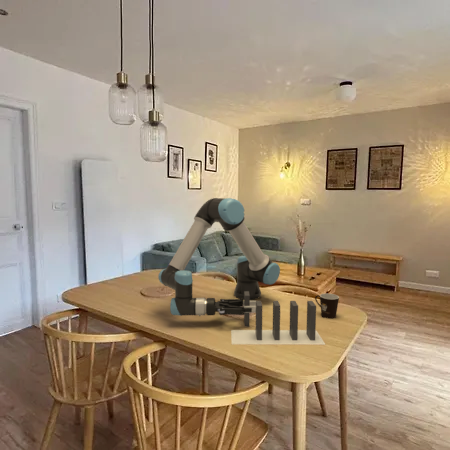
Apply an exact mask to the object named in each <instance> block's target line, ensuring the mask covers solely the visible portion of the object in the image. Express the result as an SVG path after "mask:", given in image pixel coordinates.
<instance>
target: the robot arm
mask: <svg viewBox="0 0 450 450" xmlns="http://www.w3.org/2000/svg"><path fill="white" fill-rule="evenodd" d="M193 221H194V222H192V225H191V226H190V228H189V230H188V232H187V233H186V235H185V236H184V238H183V240H182V242H181V244H179V247H178V248H177V250H176V252H175V254H174V255H173V257H172V258H171V260H170V262H169V264H168V266H167V267H166V268H163V269H161V271H159V273H158V276H157V277H158V280H159V283H161V284H162V285H163V286H165V287H168V288H171V289H172V290H174V295H175V296H174V297H172V298H171V300H170V303H169V304H170V314H171V315H172V316H198V317H201V316H215V314H216V313H219V315H220V316H224V315H225V316H226V315H233V316H234V315H235V316H238V315H239V316H244V313H252V314H254V313H255V314H256V301H257V299H260V298H261V296H262V292H261V288H260V285H259V282H260V283H262V284H264V285H273V284H276V282H277V281H278V279H279V277H280V273H281V268H280V266H279V264H278V263H276V262H272V259H271V258H270V257H269V255H268V254H265V253H263V251H262V250H261V247H260V246H259V244H258V243H257V241H256V240H255V238H254V236H253V235H252V233H251V231H250V230H249V228H248V227H247V225H246V223H245V208H244V206H243V204H242V202H241V201H240V200H238V199H236V198H231V197H227V198H225V197H224V198H221V197H220V198H219V197H213V198H210V199H208V200H207V201H205V202H204V203H203V204H202V206H201V207H200V208H199V209H198V211H197V212H196V214H195V216H194V218H193ZM214 223H219V224H220V226H221V227H222V229H223V230H224V231H225V232H229V234H230V235H231V237H232V238H233V240H234V242H235V243H236V244H237V246H238V248H239V249H240V251H241V252H242V254H243V255H240V256H238V257H237V262H236V267H237V268H236V269H237V275H236V276H237V278H236V280H237V281H236V282H237V283H236V285H235V288H234V294H233V296H234V297H235V298H231V299H230V298H229V299H228V298H227V299H225V298H220V299H219V301H216V299H215V297H193V281H194V279H193V273H192V272H191V271H190V270H185V269H186V267H187V265H188V264H189V261H191V259H192V257H193V255H194V254H195V251H196V250H197V248H198V247H199V245H200V243H201V242H202V240H203V238H204V236H205V234H206V233H207V231H208V229H211V228H212V226H213V225H214ZM244 291H249V295H250V306H244Z"/></svg>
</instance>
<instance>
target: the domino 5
mask: <svg viewBox="0 0 450 450" xmlns="http://www.w3.org/2000/svg"><path fill="white" fill-rule="evenodd" d="M306 303H307V304H306V330H307V331H306V334H307V336H308V337H309V339H310V340H315V331H317V330H316V328H317V327H316V326H317V325H316V324H317V305H316V304H315V303H314V300H307V302H306Z"/></svg>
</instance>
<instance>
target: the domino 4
mask: <svg viewBox="0 0 450 450" xmlns="http://www.w3.org/2000/svg"><path fill="white" fill-rule="evenodd" d="M289 330H290V332H289V334H290V336H291V338H292V340H297V339H298V330H299V305H298V303H297V301H296V300H289Z"/></svg>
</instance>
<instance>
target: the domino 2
mask: <svg viewBox="0 0 450 450" xmlns="http://www.w3.org/2000/svg"><path fill="white" fill-rule="evenodd" d="M255 301H256V313H255V330H256V338H257V340H262V330H263V303H262V300H255Z"/></svg>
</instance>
